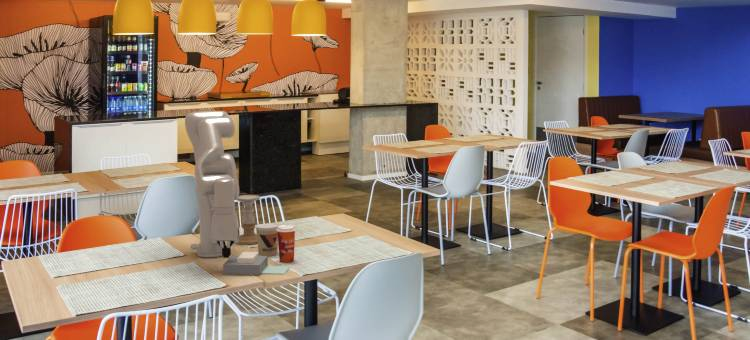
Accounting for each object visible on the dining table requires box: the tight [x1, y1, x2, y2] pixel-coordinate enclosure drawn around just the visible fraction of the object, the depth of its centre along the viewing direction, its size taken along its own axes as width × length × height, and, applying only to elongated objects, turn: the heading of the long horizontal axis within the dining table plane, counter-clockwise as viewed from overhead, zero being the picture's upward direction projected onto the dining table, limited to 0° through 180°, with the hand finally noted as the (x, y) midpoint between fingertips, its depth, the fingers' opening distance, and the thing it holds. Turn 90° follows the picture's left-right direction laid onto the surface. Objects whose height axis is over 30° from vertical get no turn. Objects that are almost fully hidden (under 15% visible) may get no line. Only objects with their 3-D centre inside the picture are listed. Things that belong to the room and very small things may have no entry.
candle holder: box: [235, 194, 261, 246], centre depth 339 cm, size 12×12×20 cm
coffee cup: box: [255, 223, 279, 257], centre depth 319 cm, size 9×9×12 cm
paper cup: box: [276, 224, 297, 264], centre depth 308 cm, size 8×8×14 cm
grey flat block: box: [222, 254, 269, 276], centre depth 295 cm, size 14×13×4 cm
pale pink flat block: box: [237, 251, 260, 263], centre depth 295 cm, size 6×9×2 cm, turn 175°
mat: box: [261, 265, 291, 275], centre depth 295 cm, size 9×10×1 cm
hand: (226, 257), depth 295 cm, fingers closed
